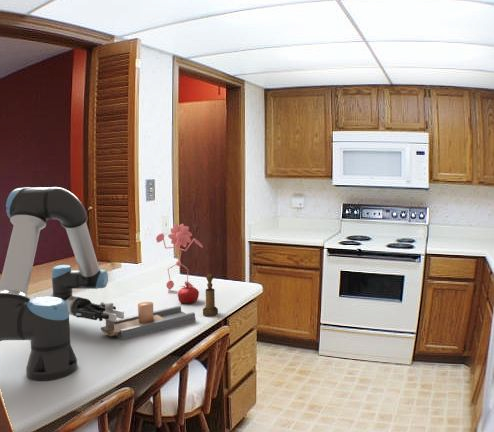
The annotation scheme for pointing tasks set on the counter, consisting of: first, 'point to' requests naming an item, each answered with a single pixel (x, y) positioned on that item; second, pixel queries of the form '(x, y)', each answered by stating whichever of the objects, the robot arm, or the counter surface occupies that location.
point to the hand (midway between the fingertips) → (119, 316)
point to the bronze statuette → (210, 299)
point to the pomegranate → (188, 294)
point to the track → (157, 322)
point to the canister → (145, 312)
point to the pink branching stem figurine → (178, 245)
